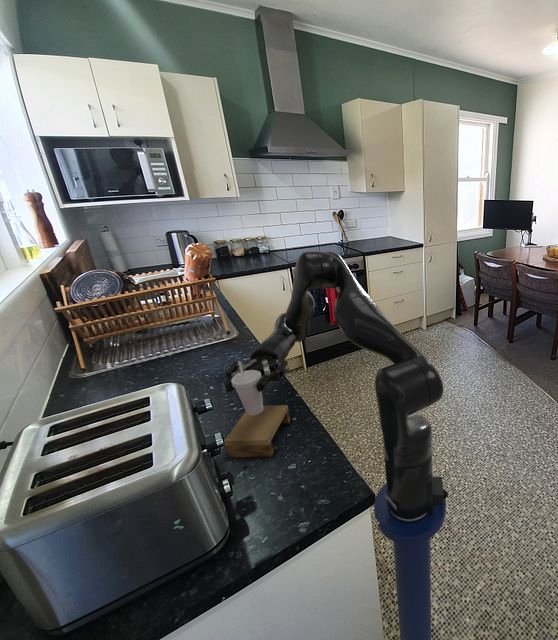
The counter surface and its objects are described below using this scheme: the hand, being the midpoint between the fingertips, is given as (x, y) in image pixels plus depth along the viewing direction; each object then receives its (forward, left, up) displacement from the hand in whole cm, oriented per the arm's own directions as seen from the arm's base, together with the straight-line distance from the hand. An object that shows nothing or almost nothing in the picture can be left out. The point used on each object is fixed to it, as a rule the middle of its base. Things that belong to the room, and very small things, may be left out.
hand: (243, 388), depth 79 cm
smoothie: (0, -2, -8) cm, 9 cm away
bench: (0, -2, -16) cm, 17 cm away
